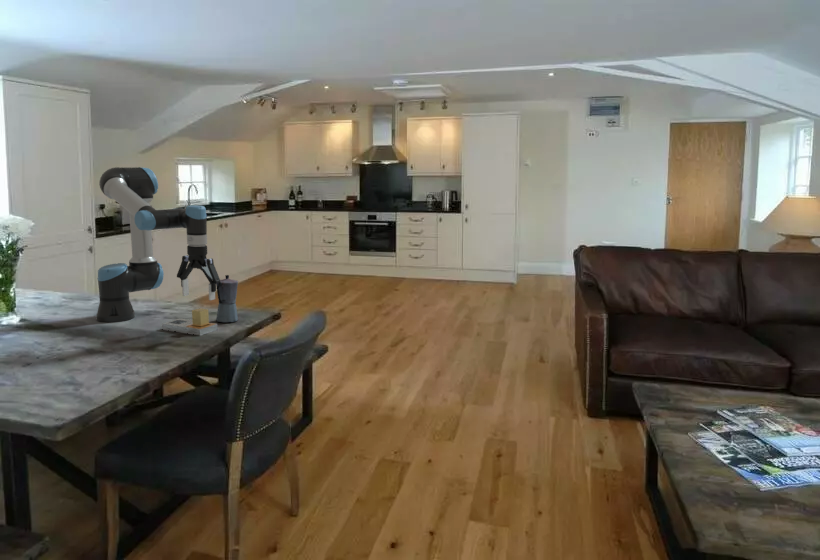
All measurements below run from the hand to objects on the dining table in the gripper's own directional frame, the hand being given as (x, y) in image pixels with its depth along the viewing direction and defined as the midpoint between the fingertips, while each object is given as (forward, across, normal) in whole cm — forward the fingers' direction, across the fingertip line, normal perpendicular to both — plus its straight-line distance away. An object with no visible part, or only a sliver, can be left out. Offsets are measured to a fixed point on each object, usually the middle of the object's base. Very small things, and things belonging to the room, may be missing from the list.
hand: (198, 297), depth 250 cm
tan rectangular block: (+14, +1, 0) cm, 14 cm away
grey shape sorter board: (+14, -5, 0) cm, 15 cm away
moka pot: (+14, -1, +18) cm, 23 cm away
